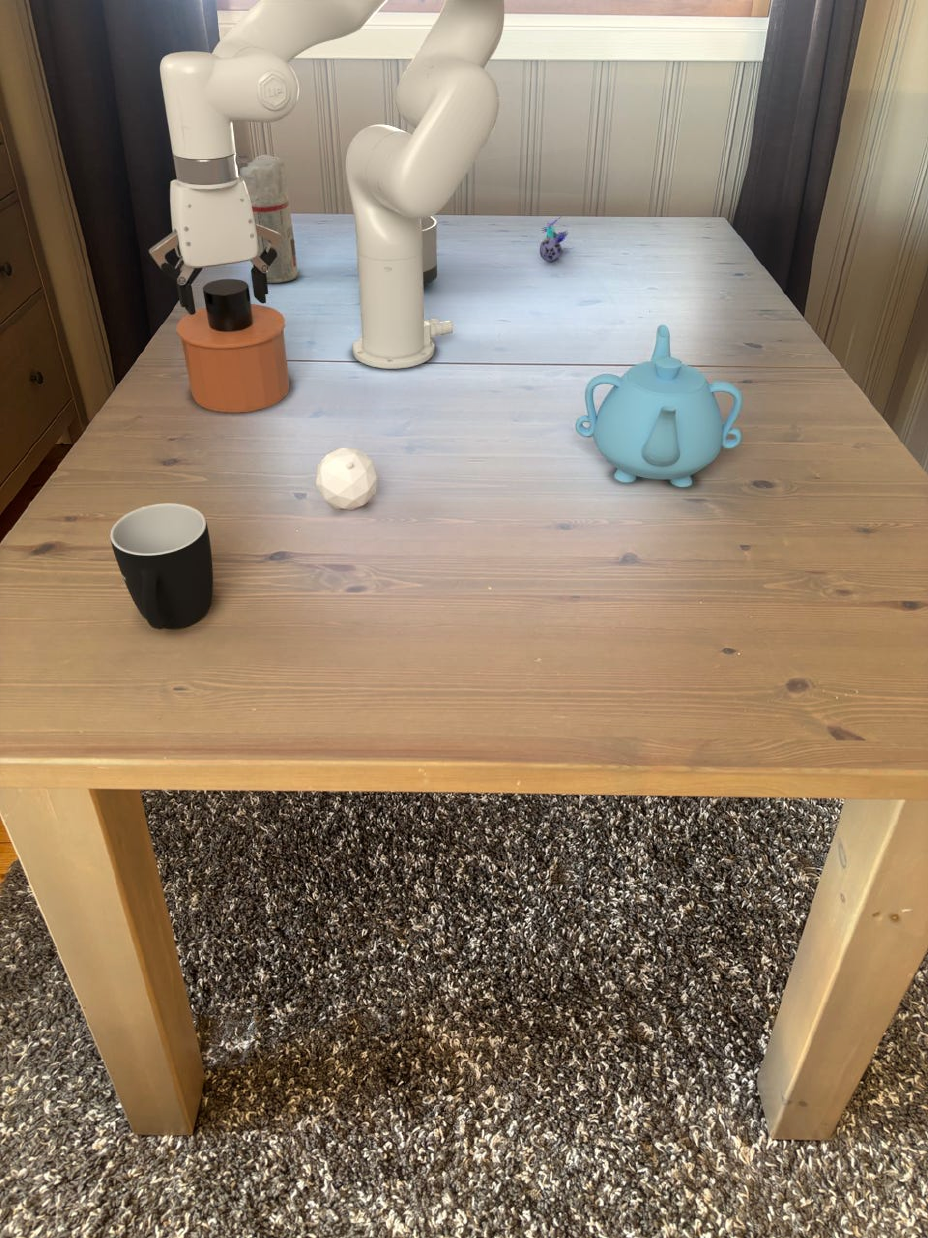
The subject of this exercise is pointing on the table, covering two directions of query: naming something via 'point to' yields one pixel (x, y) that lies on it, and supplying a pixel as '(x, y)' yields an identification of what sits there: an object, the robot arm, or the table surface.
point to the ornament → (346, 478)
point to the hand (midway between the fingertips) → (225, 305)
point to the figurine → (552, 243)
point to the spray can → (272, 212)
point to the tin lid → (230, 318)
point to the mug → (166, 563)
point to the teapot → (660, 418)
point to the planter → (429, 249)
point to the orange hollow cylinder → (238, 375)
